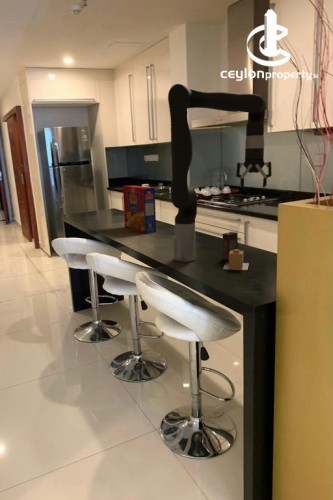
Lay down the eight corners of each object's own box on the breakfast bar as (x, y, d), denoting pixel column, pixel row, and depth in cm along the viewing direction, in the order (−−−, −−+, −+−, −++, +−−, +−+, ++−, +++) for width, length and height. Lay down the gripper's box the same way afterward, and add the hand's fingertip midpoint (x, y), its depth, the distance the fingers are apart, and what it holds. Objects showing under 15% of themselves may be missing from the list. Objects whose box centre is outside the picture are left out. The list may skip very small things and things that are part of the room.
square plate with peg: (223, 269, 163) (223, 259, 162) (225, 263, 172) (225, 253, 171) (247, 270, 160) (247, 260, 159) (248, 264, 169) (249, 254, 168)
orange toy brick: (228, 267, 164) (228, 251, 162) (230, 263, 169) (230, 248, 168) (242, 268, 163) (242, 251, 161) (243, 264, 168) (243, 248, 166)
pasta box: (124, 227, 263) (122, 186, 256) (135, 226, 267) (133, 185, 260) (145, 234, 240) (143, 188, 233) (156, 232, 244) (154, 187, 237)
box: (230, 256, 183) (231, 231, 180) (238, 258, 179) (238, 232, 176) (221, 258, 179) (222, 233, 176) (229, 260, 176) (229, 234, 173)
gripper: (236, 147, 157) (235, 188, 160) (272, 146, 153) (270, 188, 157) (237, 148, 164) (237, 186, 167) (272, 147, 160) (271, 186, 164)
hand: (253, 187), depth 162 cm, fingers open, 8 cm apart
